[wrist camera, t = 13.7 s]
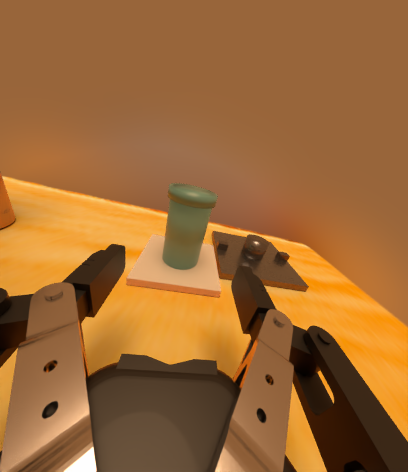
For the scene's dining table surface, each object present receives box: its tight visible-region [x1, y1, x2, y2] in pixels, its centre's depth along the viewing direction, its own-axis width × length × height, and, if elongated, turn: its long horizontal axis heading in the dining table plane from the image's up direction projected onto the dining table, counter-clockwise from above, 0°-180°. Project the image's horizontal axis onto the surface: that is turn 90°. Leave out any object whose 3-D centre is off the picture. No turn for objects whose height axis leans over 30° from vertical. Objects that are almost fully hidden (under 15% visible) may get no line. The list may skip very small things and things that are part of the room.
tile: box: [127, 234, 221, 297], centre depth 23 cm, size 11×11×1 cm
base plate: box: [212, 231, 308, 291], centre depth 29 cm, size 14×14×4 cm
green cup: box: [162, 183, 218, 270], centre depth 20 cm, size 6×6×10 cm
